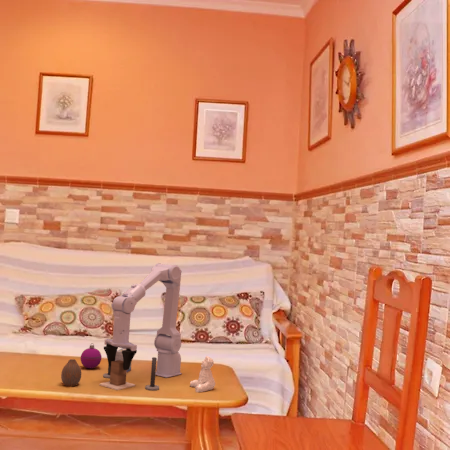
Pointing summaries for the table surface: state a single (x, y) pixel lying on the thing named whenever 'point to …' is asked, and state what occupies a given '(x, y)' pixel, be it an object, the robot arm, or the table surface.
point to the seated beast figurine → (204, 377)
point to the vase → (71, 373)
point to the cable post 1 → (107, 375)
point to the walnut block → (117, 373)
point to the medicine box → (121, 357)
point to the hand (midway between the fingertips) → (118, 367)
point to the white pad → (107, 384)
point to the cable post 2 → (152, 377)
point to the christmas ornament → (91, 357)
